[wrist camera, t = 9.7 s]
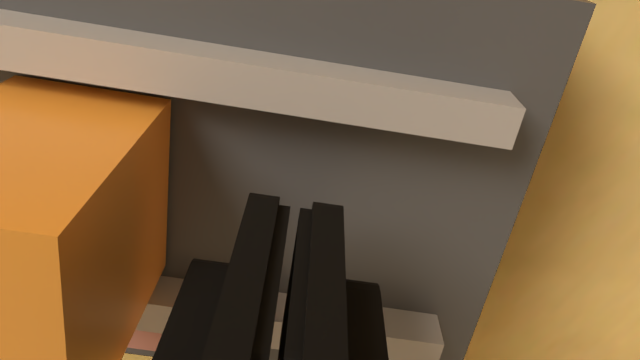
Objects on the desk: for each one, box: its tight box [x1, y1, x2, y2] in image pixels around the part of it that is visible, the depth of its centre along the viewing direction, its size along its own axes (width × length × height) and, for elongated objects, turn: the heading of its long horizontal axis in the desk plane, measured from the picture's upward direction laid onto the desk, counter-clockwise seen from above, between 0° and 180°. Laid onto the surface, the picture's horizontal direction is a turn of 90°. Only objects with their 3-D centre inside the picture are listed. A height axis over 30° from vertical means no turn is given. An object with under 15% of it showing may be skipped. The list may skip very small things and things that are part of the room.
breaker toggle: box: [0, 75, 171, 360], centre depth 9 cm, size 3×4×5 cm
